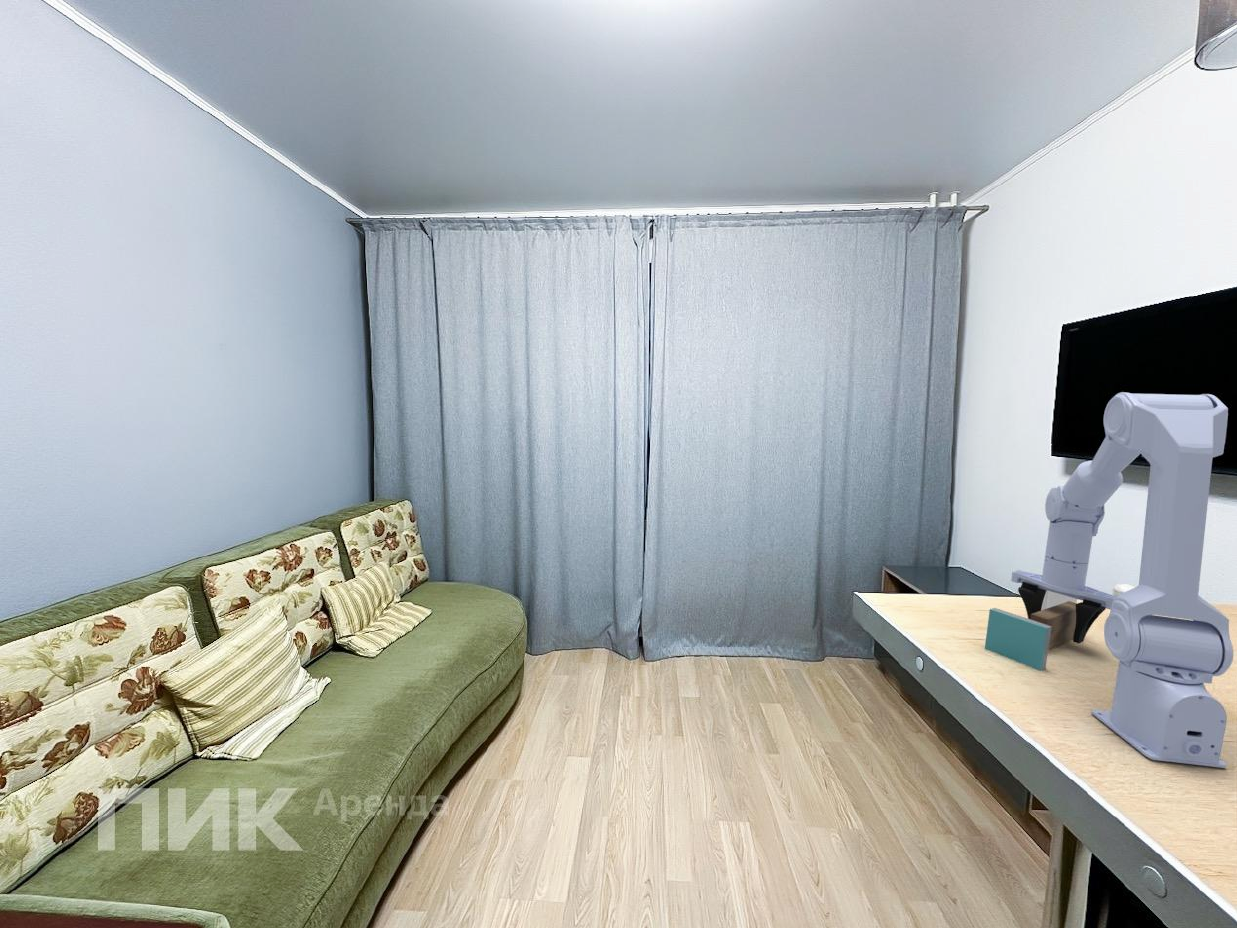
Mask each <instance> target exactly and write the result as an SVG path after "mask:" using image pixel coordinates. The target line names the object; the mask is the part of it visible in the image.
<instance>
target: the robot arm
mask: <svg viewBox="0 0 1237 928" xmlns="http://www.w3.org/2000/svg"><path fill="white" fill-rule="evenodd" d="M1228 411H1229V408H1228V407H1227V406H1226V405H1225V404H1224V403H1223V402H1222V401H1221V400H1220V399H1219V398H1218V397H1217V396H1215V395H1213V394H1210V393H1202V394H1173V393H1172V394H1165V393H1130V392H1124V391H1121V392H1118V393H1116V394H1115V395H1114V396H1112V397H1111V399H1110V400H1109V401H1108V403H1107V404H1106V407H1105V409H1104V414H1103V427H1104V433H1105V437H1104V439H1103V441H1102V443H1101V445H1100V446H1099V448H1098V450H1097V452H1096V453H1095V455H1094V456H1093V459H1092V460H1088V461H1083V462H1081V463H1080V464H1078V466H1077V468H1076V469H1075V470H1074V471H1073V473H1072V474H1071V476H1070V477H1069V478H1068V480H1067V481H1066V483H1065V484H1064V485H1059V486H1057V487H1052V488H1050V490H1049V491H1048V493H1047V495H1046V498H1045V504H1044V506H1045V510H1044V511H1045V515H1046V518H1047V519H1048V521H1049V525H1048V531H1047V533H1048V534H1047V541H1046V547H1045V555H1044V562H1043V568H1042V574H1037V573H1032V572H1028V571H1024V570H1023V571H1022V570H1019V569H1017V570H1013V571H1012V573H1011V579H1010V580H1011V582H1012V583H1016V584H1021V585H1020V586H1019V587H1018V588H1017V592H1018V594H1019V595H1020V597H1021V599H1022V602H1023V604H1024V607H1025V611H1026V614H1027V618H1028V619H1030V616H1031V614H1033V613H1036V612H1039V611H1041V608H1042V604H1043V600H1044V597H1045V593H1046V591H1051V592H1055V593H1058V594H1062V595H1065V596H1069V597H1072V598H1076V599H1077V600H1080V601H1081V602H1077V604H1076V626H1075V631H1074V635H1073V640H1072V642H1073V643H1075V644H1081V643H1084V641H1085V638H1086V635H1087V634H1088V631H1089V629H1090V628H1091V627H1092V625H1093V623H1094V622H1095V621H1096V620H1097V619H1098V617H1099V616H1100V615H1101V614H1102V613H1103V612H1105V610H1106V609H1108V610H1110V611H1109V614H1108V616H1107V617H1106V619H1105V623H1104V629H1103V636H1104V642H1105V645H1106V647H1107V650H1108V651H1109V652H1110V653H1111V655H1112V656H1113V657H1114V658H1115V659H1116V660H1117V661H1119V662H1118V667H1117V674H1116V679H1115V686H1114V690H1113V691H1114V692H1113V697H1112V703H1111V704H1112V705H1111V709H1110V710H1099V709H1091V714H1092V715H1093V716H1094V717H1096V718H1097V719H1098V720H1099V721H1101V722H1102V723H1104V725H1105V726H1107V727H1109V729H1111V730H1112V731H1113V732H1114V733H1116V734H1117V735H1119V736H1120V737H1121V738H1122V739H1124V741H1126V742H1127V743H1129V744H1130V745H1131V746H1132V747H1134V749H1136V750H1137V751H1139V752H1140V753H1141V754H1143V756H1145V757H1146V758H1148V759H1150V760H1152V761H1160V762H1168V763H1170V762H1171V763H1178V764H1187V765H1196V766H1202V767H1203V766H1205V767H1212V768H1222V769H1226V768H1227V766H1228V765H1227V763H1226V762H1225V761H1223V760H1221V759H1220V757H1221V754H1222V753H1221V752H1222V748H1223V743H1224V737H1225V732H1226V726H1227V721H1228V720H1227V719H1228V717H1227V716H1228V714H1227V711H1226V709H1225V707H1224V706H1223V705H1222V703H1221V702H1220V701H1218V699H1216V698H1215V697H1214V696H1212V694H1211V693H1209V691H1208V690H1207V688H1206V685H1205V684H1212V683H1213V678H1214V677H1219V676H1222V675H1223V674H1225V673H1226V672H1227V671H1228V669H1230V668H1231V666H1232V663H1233V659H1234V646H1233V644H1232V640H1231V638H1230V626H1229V625H1230V623H1229V622H1230V619H1229V618H1228V617H1227V616H1226V615H1225V614H1223V612H1221V611H1220V610H1219V609H1218V608H1216V607H1215V606H1214V605H1212V604H1211V603H1209V602H1208V601H1206V600H1205V599H1203V598H1202V597H1201V596H1200V595H1199V590H1200V581H1201V571H1202V564H1203V563H1202V562H1203V561H1202V560H1203V554H1204V553H1203V552H1204V543H1205V531H1206V523H1207V513H1208V504H1209V497H1210V495H1209V494H1210V486H1211V485H1210V484H1211V483H1210V482H1211V475H1212V465H1213V458H1216V457H1219V456H1222V455H1223V454H1224V452H1225V451H1224V449H1225V444H1226V439H1227V430H1228V429H1227V428H1228V416H1229V412H1228ZM1140 454H1141V455H1142V457H1144V459H1145V460H1146V461H1147V463H1149V465H1150V468H1149V477H1148V479H1149V481H1148V489H1147V499H1146V508H1145V509H1146V510H1145V520H1144V529H1143V539H1142V548H1141V560H1140V569H1139V578H1138V579H1139V580H1138V585H1137V586H1136V587H1135V588H1133V589H1131V590H1129V591H1127V592H1124V593H1122V594H1120V595H1118V596H1114V595H1113V594H1109V593H1106V592H1105V591H1102V590H1099V589H1096V588H1093V587H1089V586H1086V583H1087V582H1086V581H1087V576H1088V568H1089V563H1090V556H1091V555H1090V554H1091V551H1092V550H1091V548H1092V542H1093V537H1097V535H1098V532H1099V527H1100V525H1101V524H1102V522H1103V520H1104V517H1105V513H1106V512H1105V504H1107V502H1108V501H1109V500H1110V498H1111V497H1113V495H1114V494H1115V493H1116V491H1117V490H1118V489H1119V488H1120V487H1121V486H1122V484H1123V482H1124V477H1123V474H1122V472H1123V471H1124V469H1126V468H1127V467H1128V466H1129V465H1130V464H1132V462H1133V461H1134V460H1135V459H1136V458H1138V457H1139V456H1140Z"/></svg>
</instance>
